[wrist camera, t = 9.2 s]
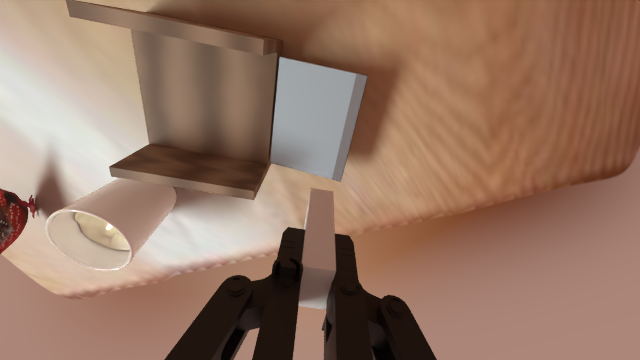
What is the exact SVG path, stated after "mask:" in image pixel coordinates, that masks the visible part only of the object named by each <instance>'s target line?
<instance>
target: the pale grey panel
mask: <svg viewBox="0 0 640 360" xmlns="http://www.w3.org/2000/svg"><path fill="white" fill-rule="evenodd" d="M367 78H368V75H364V74H359V73H355V72H350V71H345V70H341V69H336V68H332V67H327V66H323V65H318V64H313V63H309V62H304V61H300V60H295V59H291V58H286V57H280V59H279V70H278V81H277V92H276V103H275V114H274V125H273V136H272V146H271V157H270V163H273V164H277V165H281V166H285V167H288V168H292V169H296V170H299V171H303V172H307V173H311V174H314V175H318V176H322V177H325V178H329V179H332V180H336V181H340V182H341V179H342V175H343V171H344V168H345V164H346V160H347V156H348V152H349V148H350V144H351V140H352V136H353V132H354V128H355V125H356V121H357V117H358V113H359V109H360V105H361V101H362V97H363V93H364V89H365V85H366V81H367Z"/></svg>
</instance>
